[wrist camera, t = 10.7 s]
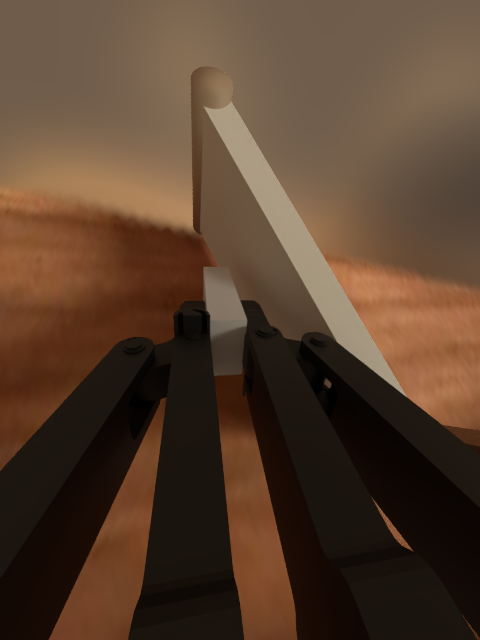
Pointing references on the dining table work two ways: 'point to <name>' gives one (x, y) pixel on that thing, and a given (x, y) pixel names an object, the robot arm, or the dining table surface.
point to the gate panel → (264, 229)
